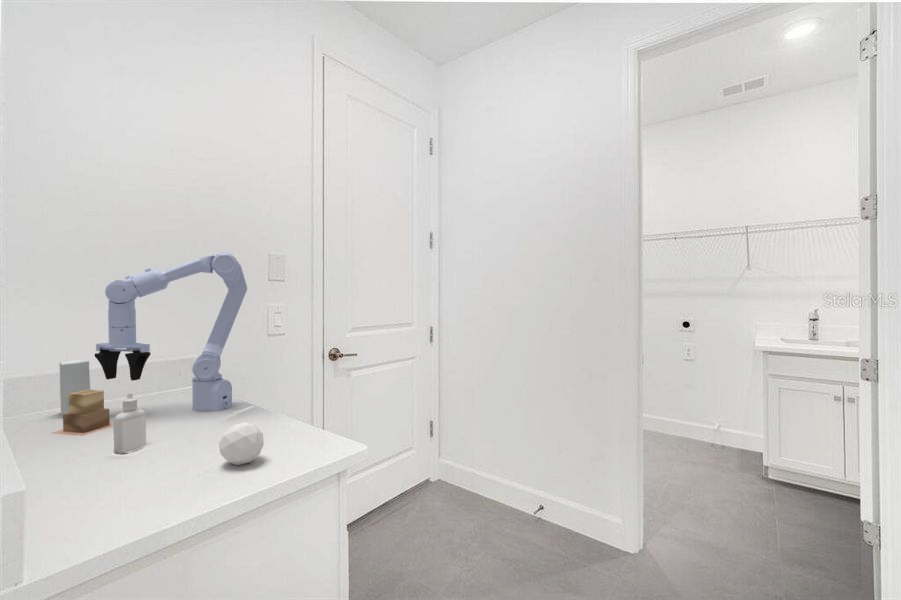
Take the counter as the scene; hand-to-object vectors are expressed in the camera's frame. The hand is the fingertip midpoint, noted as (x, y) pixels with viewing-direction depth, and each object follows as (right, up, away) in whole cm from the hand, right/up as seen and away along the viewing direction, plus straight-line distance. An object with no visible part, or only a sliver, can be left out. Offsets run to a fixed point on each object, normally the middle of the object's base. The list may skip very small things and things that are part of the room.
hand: (123, 379), depth 114 cm
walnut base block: (-1, -10, -11) cm, 14 cm away
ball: (+45, -11, -29) cm, 54 cm away
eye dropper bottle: (+18, -11, -23) cm, 31 cm away
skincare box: (-14, -11, +2) cm, 18 cm away
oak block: (-1, -6, -11) cm, 12 cm away
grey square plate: (+2, -11, -7) cm, 13 cm away
